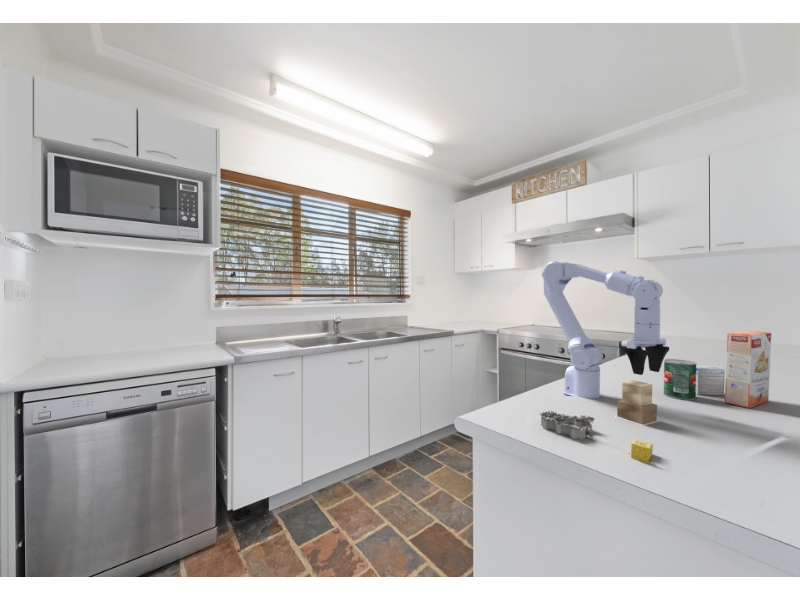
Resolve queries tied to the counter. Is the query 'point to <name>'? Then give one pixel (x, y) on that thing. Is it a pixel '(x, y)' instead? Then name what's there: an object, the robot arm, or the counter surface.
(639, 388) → the oak block
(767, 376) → the cracker box
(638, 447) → the alphabet block
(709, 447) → the counter surface
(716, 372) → the medicine box
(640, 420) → the walnut block
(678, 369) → the canned tomato
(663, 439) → the counter surface
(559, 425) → the egg carton
